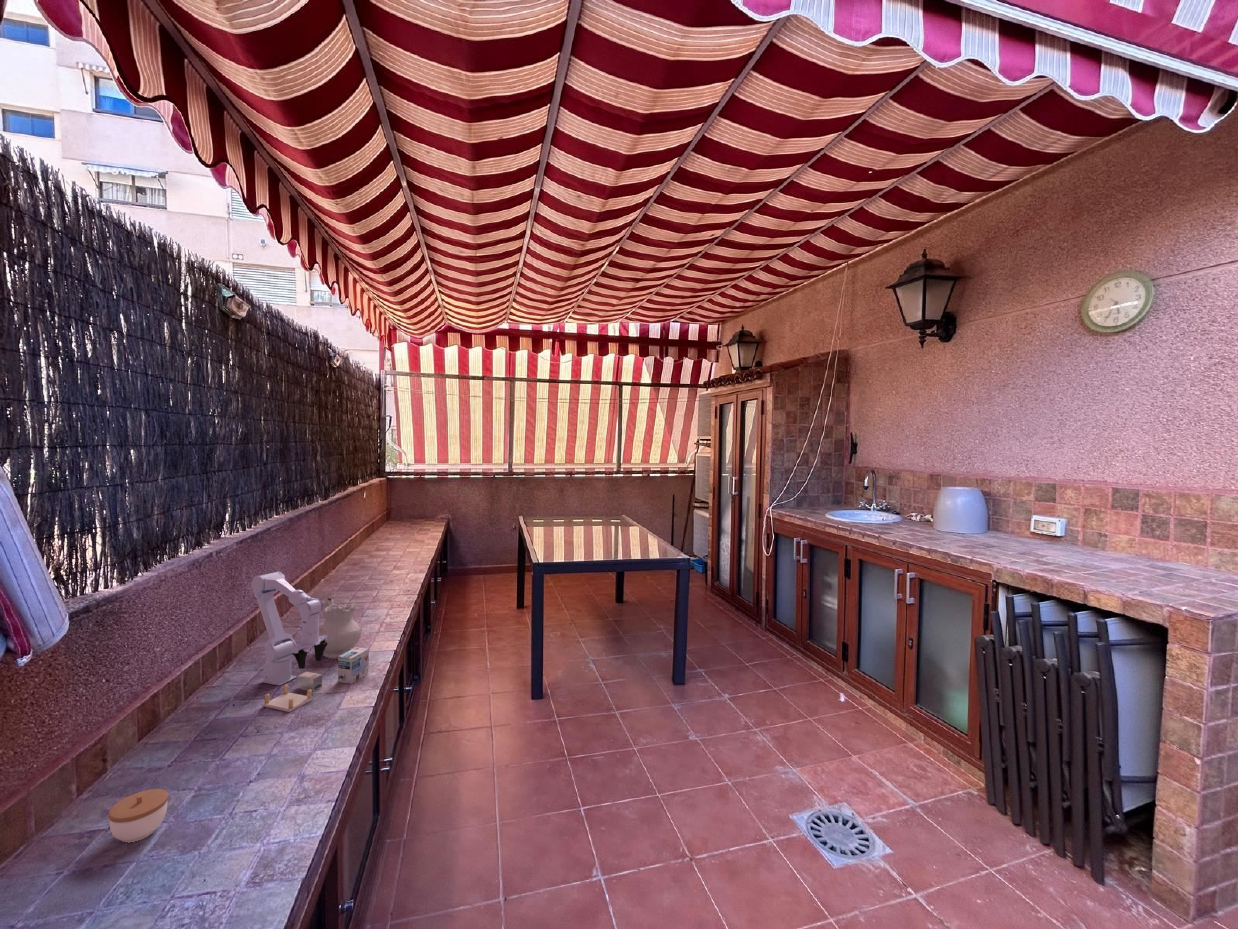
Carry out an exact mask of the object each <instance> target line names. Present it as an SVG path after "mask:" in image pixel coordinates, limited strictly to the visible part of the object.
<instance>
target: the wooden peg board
mask: <svg viewBox="0 0 1238 929" xmlns="http://www.w3.org/2000/svg"><path fill="white" fill-rule="evenodd" d="M312 693H313V692H312V690H311V689H309V690H306V695H305V694H304V695H303V694H298V693H294V692H289V684H284V686H283V694H281V695H279V696H277V697H274V698H272V699H270V695H271V694H270V693H267V694H265V695H264V703H263V706H264V708H265V707H266V708H270V709H275V710H279V711H283V712H287V713H288V712H289V713H291V712H292V711H294V710H296V709H298V708H300V707H301V706H303V705H305V704H307V703H309V702H311V701H312V700H313V695H312Z"/></svg>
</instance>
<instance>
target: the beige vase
mask: <svg viewBox="0 0 1238 929" xmlns="http://www.w3.org/2000/svg"><path fill="white" fill-rule="evenodd" d="M356 607H357V604H356V603H350V604H348V605H344V604H336V603H334V600H333V597H331V596H330V597H329V596H326V597H325V602H324V606H323V610H322V615H323V617H324V622H323V624H322V625H319V637H320V636H323V635H326V636H327V641H325V642H328V645H327V646H326V648H325V650H324V652H323V655H322V657H325V658H329V659H333V660H335V659H336V660H338V656H340V655H342V654H344V653H346V652H348V651H350V650H351V649H353V648H355V647H356V645H357V644H358V643H359V641H360V639H361V636H362V633H363V629H362V626H361V624H360V623H358V622H357V621H355V620H354V618H353V614H354V612H355V610H356Z"/></svg>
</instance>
